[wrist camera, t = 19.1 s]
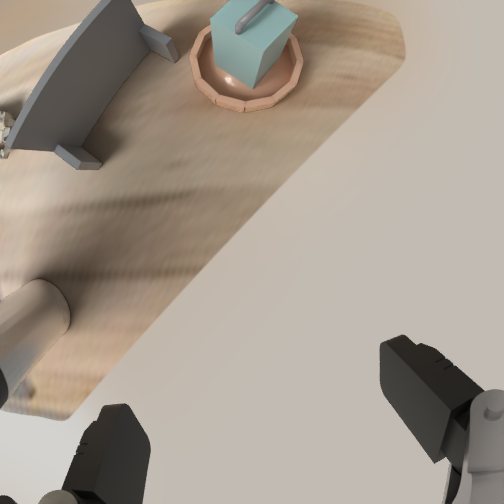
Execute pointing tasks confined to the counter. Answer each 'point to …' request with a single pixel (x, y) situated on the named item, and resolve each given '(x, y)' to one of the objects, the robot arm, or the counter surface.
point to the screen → (86, 81)
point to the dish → (235, 92)
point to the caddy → (250, 37)
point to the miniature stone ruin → (5, 132)
